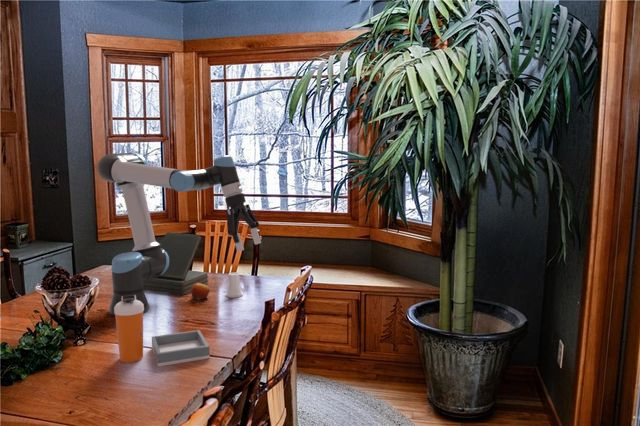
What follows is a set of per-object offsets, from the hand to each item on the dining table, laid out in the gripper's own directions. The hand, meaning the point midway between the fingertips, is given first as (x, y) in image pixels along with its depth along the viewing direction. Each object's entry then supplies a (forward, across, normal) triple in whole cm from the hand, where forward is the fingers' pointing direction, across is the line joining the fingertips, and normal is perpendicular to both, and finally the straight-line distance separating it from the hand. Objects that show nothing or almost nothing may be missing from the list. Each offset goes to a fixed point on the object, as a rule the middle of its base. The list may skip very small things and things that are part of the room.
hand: (249, 247), depth 209 cm
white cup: (+20, +22, +28) cm, 41 cm away
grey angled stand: (+11, +23, +60) cm, 65 cm away
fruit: (+17, +12, +39) cm, 44 cm away
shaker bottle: (+22, -51, +23) cm, 60 cm away
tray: (+25, -42, +11) cm, 50 cm away
